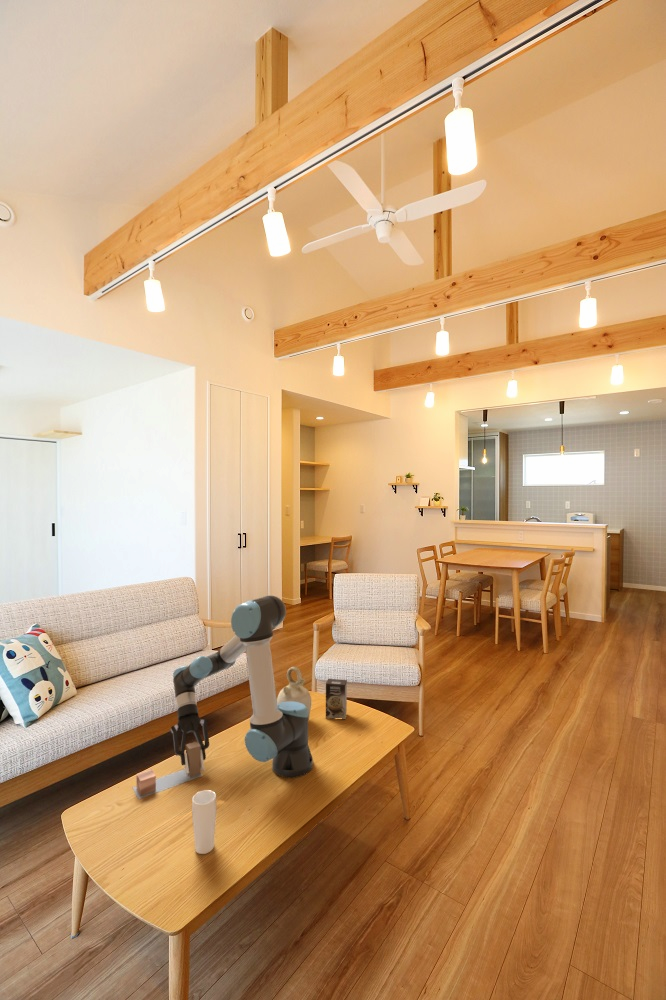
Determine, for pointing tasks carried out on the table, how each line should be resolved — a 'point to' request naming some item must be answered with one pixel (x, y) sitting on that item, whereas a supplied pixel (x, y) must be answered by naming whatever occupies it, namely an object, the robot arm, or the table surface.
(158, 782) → the strip
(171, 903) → the table surface
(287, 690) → the jug
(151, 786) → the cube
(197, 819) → the drinking glass
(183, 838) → the table surface
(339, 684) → the coffee box
